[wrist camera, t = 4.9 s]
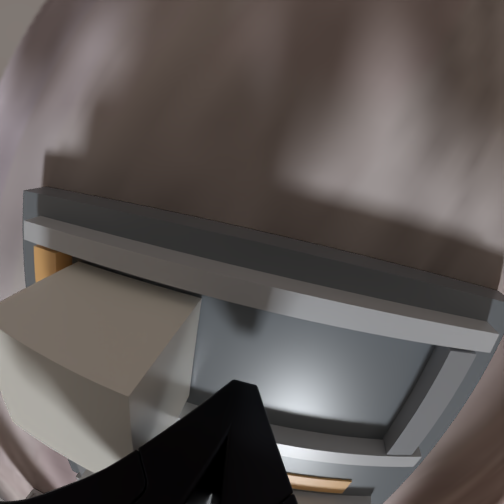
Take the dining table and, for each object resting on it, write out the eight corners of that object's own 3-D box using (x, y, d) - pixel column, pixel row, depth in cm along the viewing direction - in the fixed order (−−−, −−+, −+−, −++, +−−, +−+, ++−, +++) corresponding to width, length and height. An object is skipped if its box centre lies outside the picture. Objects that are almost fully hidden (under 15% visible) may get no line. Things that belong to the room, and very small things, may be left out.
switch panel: (337, 527, 12) (336, 553, 11) (81, 458, 14) (66, 478, 12) (498, 291, 8) (529, 315, 6) (46, 186, 9) (6, 193, 7)
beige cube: (189, 395, 9) (139, 493, 5) (83, 355, 9) (12, 422, 6) (202, 298, 8) (128, 396, 4) (78, 261, 8) (-22, 314, 5)
